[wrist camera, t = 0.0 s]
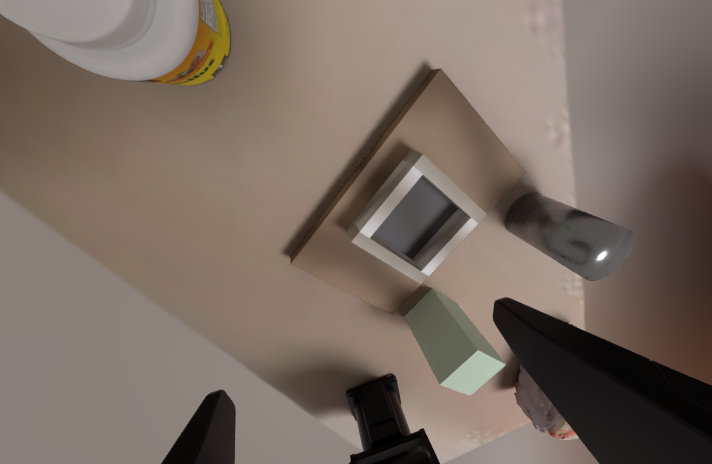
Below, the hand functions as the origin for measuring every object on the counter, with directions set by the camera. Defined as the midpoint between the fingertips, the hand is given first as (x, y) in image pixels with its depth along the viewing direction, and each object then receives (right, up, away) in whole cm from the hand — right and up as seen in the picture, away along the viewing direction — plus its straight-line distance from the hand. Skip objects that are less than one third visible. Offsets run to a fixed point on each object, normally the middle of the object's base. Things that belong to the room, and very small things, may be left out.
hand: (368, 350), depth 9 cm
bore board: (+4, +6, +15) cm, 17 cm away
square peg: (+8, -5, +22) cm, 24 cm away
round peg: (+17, +6, +18) cm, 25 cm away
